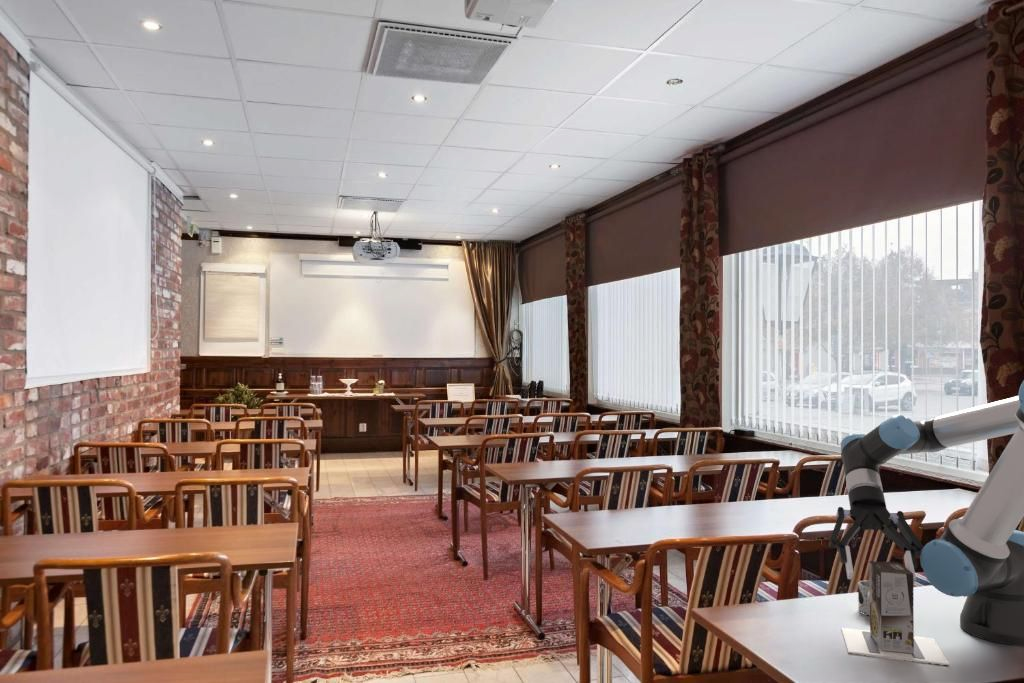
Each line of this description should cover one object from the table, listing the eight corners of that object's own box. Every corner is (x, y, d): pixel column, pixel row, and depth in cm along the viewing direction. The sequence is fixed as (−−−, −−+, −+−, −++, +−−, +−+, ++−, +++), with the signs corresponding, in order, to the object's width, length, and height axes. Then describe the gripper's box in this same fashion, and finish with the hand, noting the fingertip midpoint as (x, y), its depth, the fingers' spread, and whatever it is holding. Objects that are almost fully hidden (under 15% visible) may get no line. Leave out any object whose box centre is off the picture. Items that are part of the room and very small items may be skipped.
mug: (861, 606, 175) (860, 578, 176) (891, 611, 172) (891, 583, 172) (853, 618, 167) (853, 589, 167) (885, 624, 163) (885, 594, 164)
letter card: (933, 640, 154) (933, 637, 154) (949, 666, 141) (949, 663, 141) (841, 629, 160) (841, 627, 160) (848, 653, 147) (848, 651, 147)
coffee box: (915, 654, 145) (914, 573, 146) (880, 651, 147) (880, 571, 147) (901, 637, 154) (900, 561, 155) (869, 634, 156) (868, 559, 156)
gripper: (917, 505, 168) (939, 592, 153) (809, 498, 174) (819, 582, 159) (925, 487, 163) (948, 575, 148) (813, 480, 169) (823, 564, 154)
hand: (881, 579), depth 154 cm, fingers open, 11 cm apart
